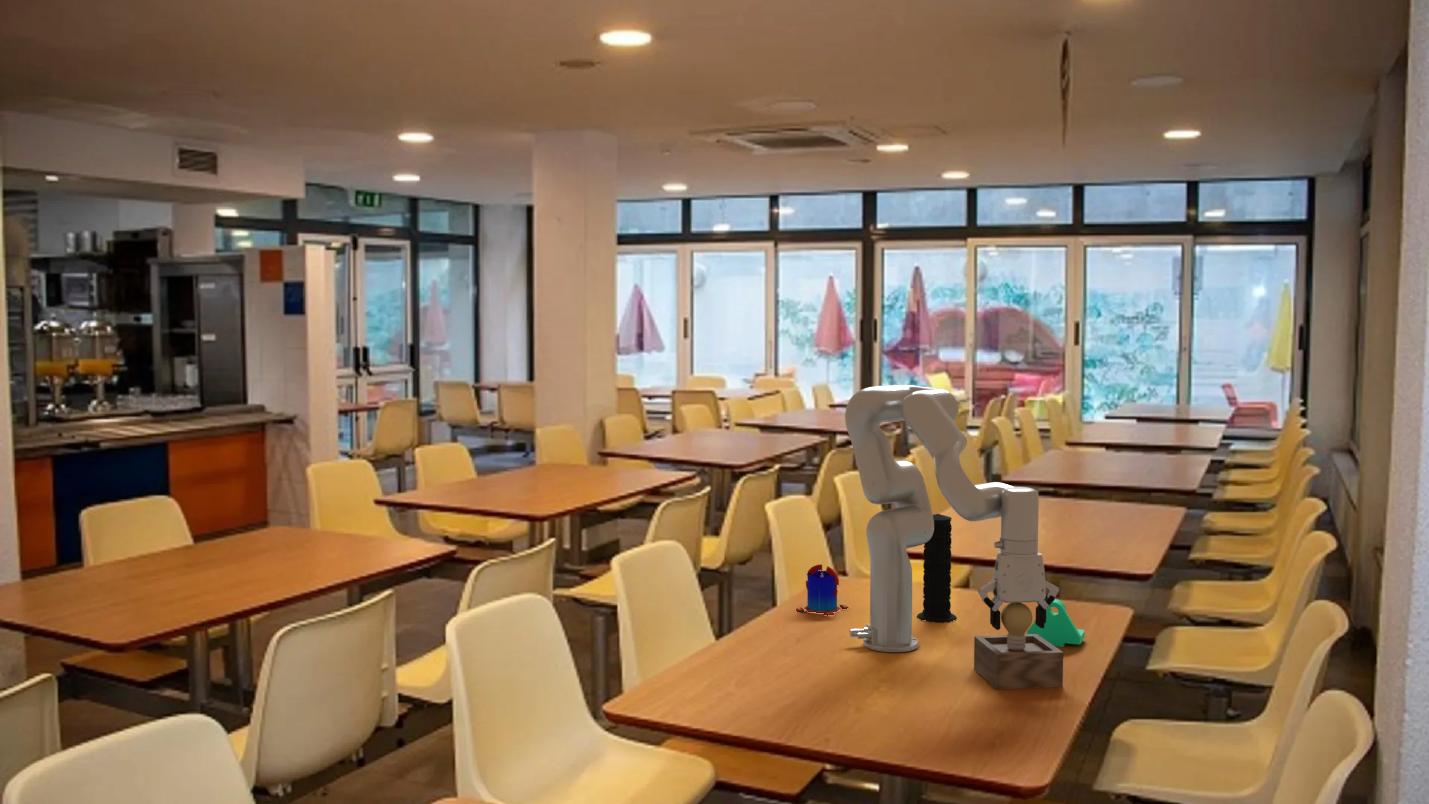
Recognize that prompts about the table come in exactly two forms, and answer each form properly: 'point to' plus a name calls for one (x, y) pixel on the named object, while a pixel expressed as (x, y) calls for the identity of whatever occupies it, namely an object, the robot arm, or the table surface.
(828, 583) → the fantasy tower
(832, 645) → the table surface
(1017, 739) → the table surface
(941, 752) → the table surface
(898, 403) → the robot arm
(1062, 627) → the camera mount
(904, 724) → the table surface
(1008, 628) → the light bulb
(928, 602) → the handle grip
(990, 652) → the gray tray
